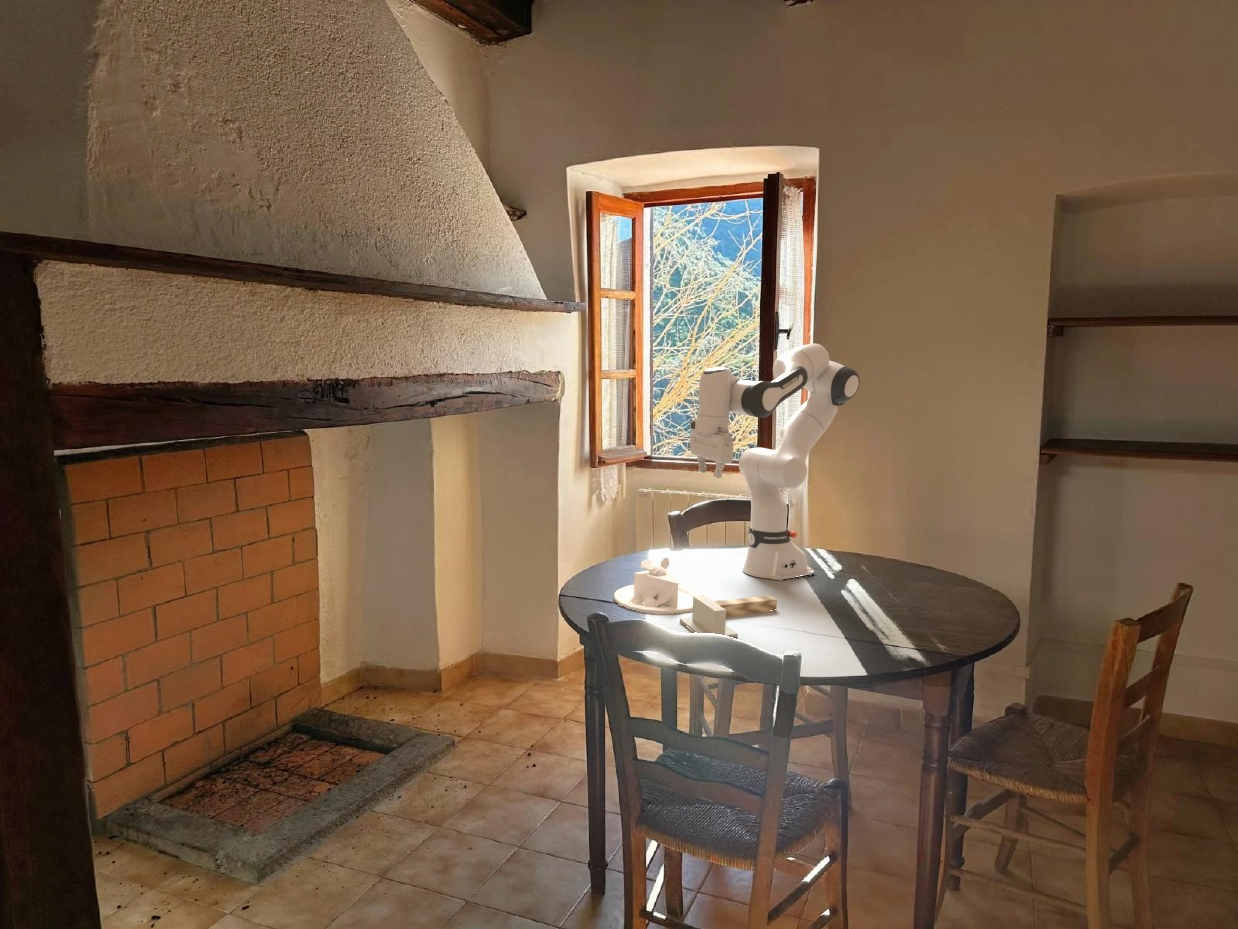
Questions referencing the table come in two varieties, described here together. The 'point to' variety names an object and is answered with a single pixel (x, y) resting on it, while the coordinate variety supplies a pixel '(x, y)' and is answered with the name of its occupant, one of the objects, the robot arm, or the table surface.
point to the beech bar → (748, 605)
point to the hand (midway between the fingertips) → (709, 474)
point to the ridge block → (708, 618)
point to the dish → (656, 591)
